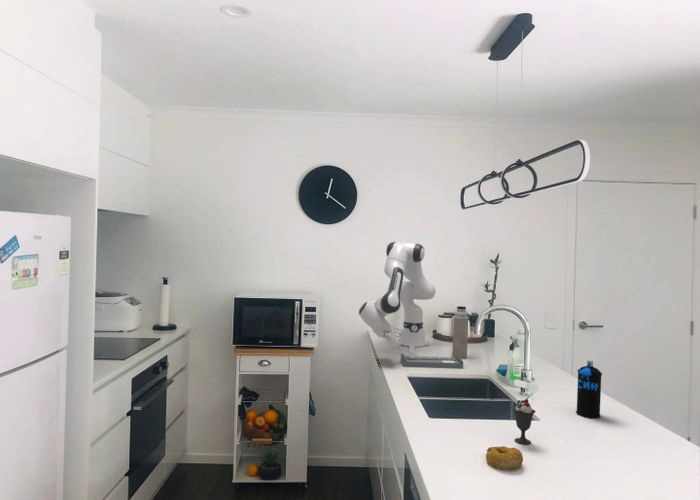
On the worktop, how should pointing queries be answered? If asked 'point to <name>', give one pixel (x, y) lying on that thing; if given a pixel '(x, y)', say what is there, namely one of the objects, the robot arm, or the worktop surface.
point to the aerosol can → (589, 391)
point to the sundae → (523, 419)
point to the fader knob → (412, 349)
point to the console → (432, 362)
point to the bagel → (504, 458)
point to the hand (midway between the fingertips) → (401, 349)
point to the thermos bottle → (460, 333)
